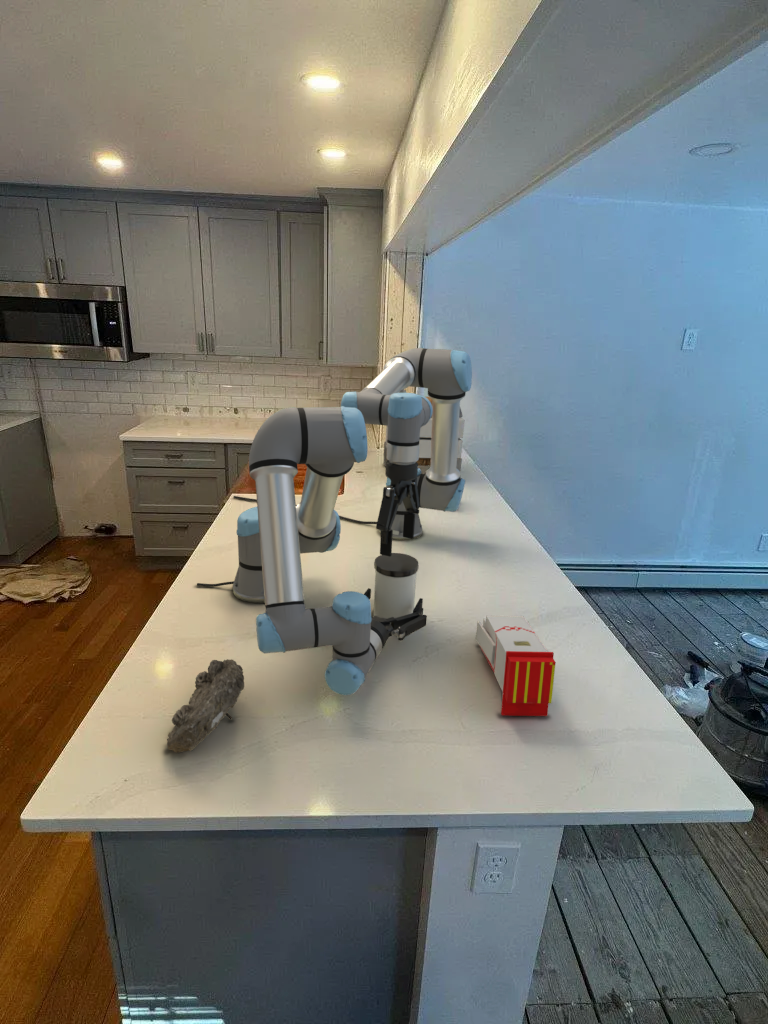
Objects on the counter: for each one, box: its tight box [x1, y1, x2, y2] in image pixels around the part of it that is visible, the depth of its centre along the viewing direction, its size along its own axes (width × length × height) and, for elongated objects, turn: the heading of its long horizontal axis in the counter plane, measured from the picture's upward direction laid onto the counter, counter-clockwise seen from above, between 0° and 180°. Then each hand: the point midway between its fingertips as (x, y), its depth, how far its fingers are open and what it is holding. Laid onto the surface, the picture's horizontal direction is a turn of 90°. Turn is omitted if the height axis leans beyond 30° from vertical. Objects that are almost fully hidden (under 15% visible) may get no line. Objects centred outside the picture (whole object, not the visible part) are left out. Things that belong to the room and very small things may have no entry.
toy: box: [475, 615, 557, 717], centre depth 123 cm, size 12×13×30 cm
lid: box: [373, 552, 419, 577], centre depth 141 cm, size 11×11×2 cm
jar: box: [373, 569, 418, 624], centre depth 144 cm, size 10×10×15 cm
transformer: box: [383, 389, 465, 474], centre depth 268 cm, size 34×33×41 cm
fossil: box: [166, 658, 245, 754], centre depth 106 cm, size 22×10×15 cm
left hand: (394, 598), depth 143 cm, fingers open, 13 cm apart
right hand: (397, 546), depth 140 cm, fingers open, 12 cm apart
